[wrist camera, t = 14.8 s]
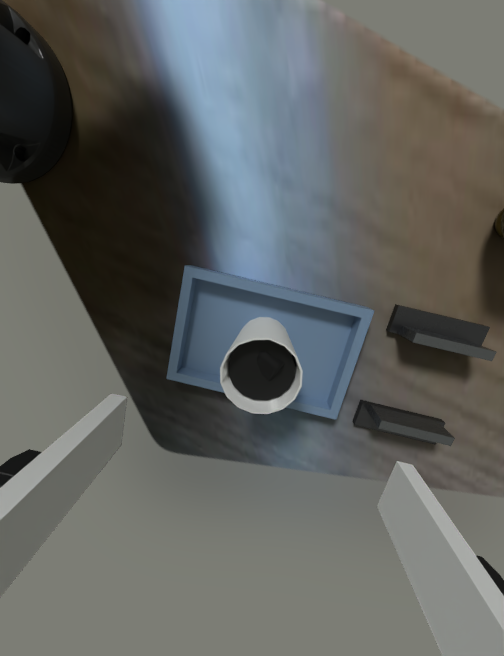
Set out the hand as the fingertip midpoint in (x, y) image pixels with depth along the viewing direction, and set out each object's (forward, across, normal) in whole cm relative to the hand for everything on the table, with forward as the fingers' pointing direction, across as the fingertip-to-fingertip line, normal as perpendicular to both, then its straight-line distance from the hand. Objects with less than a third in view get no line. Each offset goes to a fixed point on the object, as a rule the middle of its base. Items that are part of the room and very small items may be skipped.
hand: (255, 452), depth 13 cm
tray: (+20, 0, 0) cm, 20 cm away
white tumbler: (+19, 0, 0) cm, 19 cm away
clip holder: (+19, +18, 0) cm, 27 cm away
